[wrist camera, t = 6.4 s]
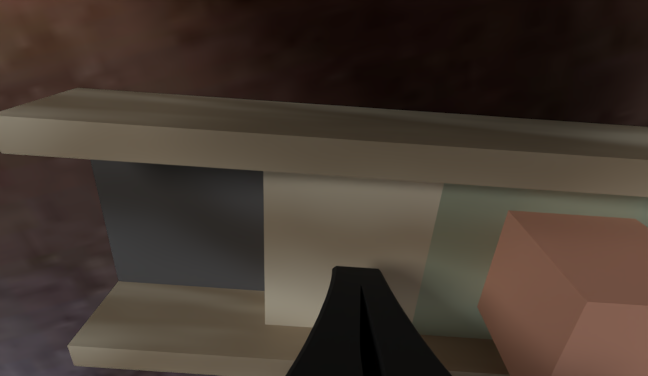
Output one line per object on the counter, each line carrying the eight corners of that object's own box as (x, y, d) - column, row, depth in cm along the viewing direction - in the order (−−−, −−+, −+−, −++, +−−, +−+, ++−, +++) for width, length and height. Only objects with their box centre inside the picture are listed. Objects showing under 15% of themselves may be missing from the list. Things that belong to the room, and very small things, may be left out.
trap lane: (725, 336, 16) (819, 414, 13) (125, 296, 16) (74, 365, 13) (870, 141, 12) (1055, 188, 9) (77, 87, 12) (-13, 114, 9)
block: (587, 314, 13) (681, 427, 10) (477, 306, 13) (530, 417, 10) (635, 218, 12) (771, 313, 8) (508, 210, 11) (587, 301, 8)
